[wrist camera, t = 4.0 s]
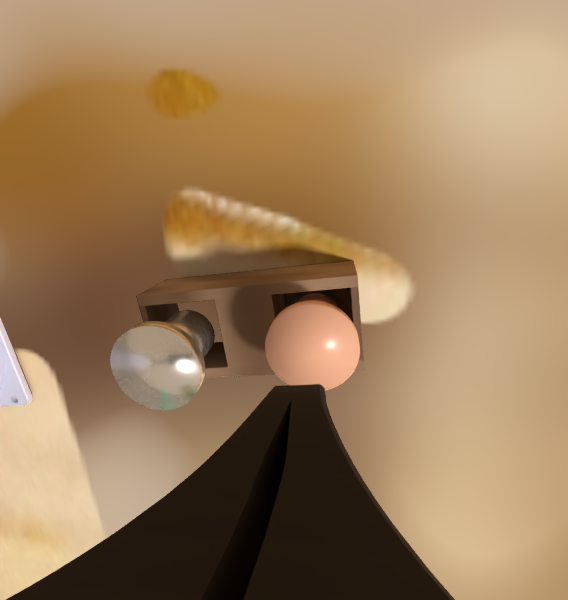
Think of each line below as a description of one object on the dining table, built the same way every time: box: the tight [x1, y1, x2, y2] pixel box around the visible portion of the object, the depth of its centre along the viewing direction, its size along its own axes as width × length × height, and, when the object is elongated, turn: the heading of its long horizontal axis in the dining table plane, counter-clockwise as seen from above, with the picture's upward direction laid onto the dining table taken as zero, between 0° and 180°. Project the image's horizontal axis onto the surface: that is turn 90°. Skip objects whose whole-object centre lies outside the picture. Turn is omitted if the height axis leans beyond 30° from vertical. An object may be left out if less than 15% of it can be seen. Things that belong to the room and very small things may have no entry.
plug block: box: [136, 261, 364, 378], centre depth 17 cm, size 10×4×3 cm, turn 98°
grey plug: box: [111, 310, 215, 410], centre depth 15 cm, size 4×4×4 cm
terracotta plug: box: [265, 293, 360, 390], centre depth 15 cm, size 4×4×4 cm
